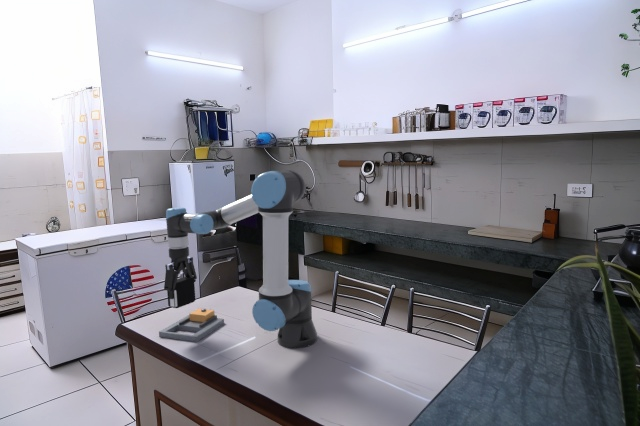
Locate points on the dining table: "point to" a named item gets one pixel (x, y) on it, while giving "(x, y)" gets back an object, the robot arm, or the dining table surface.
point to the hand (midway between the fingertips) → (182, 302)
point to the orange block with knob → (201, 315)
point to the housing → (191, 328)
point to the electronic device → (184, 292)
